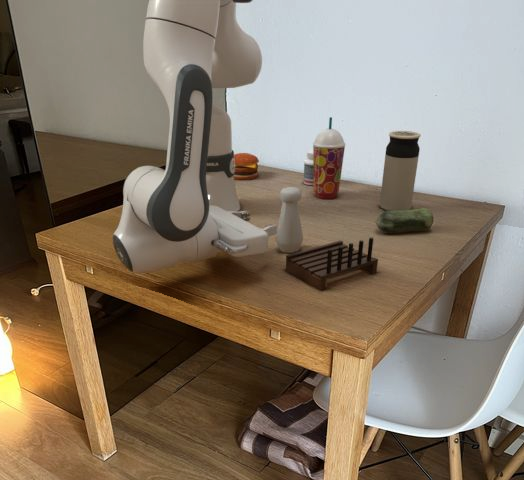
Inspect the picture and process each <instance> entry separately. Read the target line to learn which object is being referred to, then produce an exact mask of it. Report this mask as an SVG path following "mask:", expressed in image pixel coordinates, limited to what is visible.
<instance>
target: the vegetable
mask: <svg viewBox="0 0 524 480" xmlns="http://www.w3.org/2000/svg"><path fill="white" fill-rule="evenodd" d="M434 218H435V217H434V213H433V212H432V211H431V210H430V209H428V208H427V207H421V208H416V209H408V210H397V211H388V210H384V211H382V212H381V213H379V215H378V216H377V219H376V221H374V224H375V225H376V227H377V229H378V231H379V232H380V233H383V234H394V233H395V234H396V233H406V232H407V233H408V232H409V233H410V232H425V231H426V232H427V231H428V230H429V229H431V227H432V226H433V224H434Z"/></svg>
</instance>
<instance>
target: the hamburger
mask: <svg viewBox="0 0 524 480" xmlns="http://www.w3.org/2000/svg"><path fill="white" fill-rule="evenodd" d="M234 159H235V173H234V180H237V181H248V180H253V179H256V178H257V177H259V173H258V172H259V171H258V169H259V165H258V163H259V162H260V160H259V158H258V156H256V155H254V154H252V153H248V152H239V153H234Z"/></svg>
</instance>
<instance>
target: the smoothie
mask: <svg viewBox="0 0 524 480" xmlns="http://www.w3.org/2000/svg"><path fill="white" fill-rule="evenodd" d="M332 125H333V117H331V116H330V117H329V119H328V128H325V129H323V130H321V131H320V132H319V133H318V134H317V136H316V137H315V138H314V139H315V140H314V141H313V142H312V145H313V146H312V150H313V164H314V185H313V192H314V193H315V197H317V198H319V199H324V200H326V199H327V200H329V199H334V198H336V197H337V195H338V193H339V192H340V187H341V186H340V185H341V177H342V172H343V171H342V170H343V163H344V157H345V150H346V149H345V148H346V142H345V140H344V137H343V135H342V134H341V132H340V131H338V130H336V129H334V128H332Z"/></svg>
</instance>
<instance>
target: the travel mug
mask: <svg viewBox="0 0 524 480" xmlns="http://www.w3.org/2000/svg"><path fill="white" fill-rule="evenodd" d="M388 137H389V141H388V144H387V146H386V147H385V156H384V164H383V173H382V179H381V188H380V198H379V207H380V208H382V209H383V210H384V211H397V210H411V209H412V204H413V196H414V190H415V183H416V177H417V170H418V164H419V163H418V162H419V156H420V151H421V150H420V149H421V148H420V146H419V143H418V142H419V139H420V138H421V133H419V132H416V131H412V130H393V131H390V132H389V133H388Z"/></svg>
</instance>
